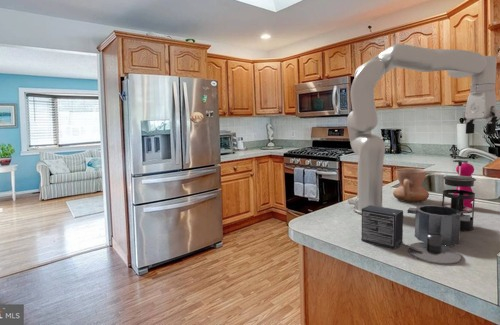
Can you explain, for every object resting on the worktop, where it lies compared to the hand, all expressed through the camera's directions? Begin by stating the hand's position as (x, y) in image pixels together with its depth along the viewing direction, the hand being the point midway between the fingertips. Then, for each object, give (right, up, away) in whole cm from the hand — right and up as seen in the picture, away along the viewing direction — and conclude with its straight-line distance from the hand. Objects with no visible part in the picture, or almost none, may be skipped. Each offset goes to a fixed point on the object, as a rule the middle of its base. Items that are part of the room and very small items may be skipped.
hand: (479, 133), depth 119 cm
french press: (-20, -34, -16) cm, 42 cm away
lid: (-40, -37, -36) cm, 65 cm away
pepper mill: (-3, -30, +6) cm, 31 cm away
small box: (-50, -36, -26) cm, 67 cm away
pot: (-33, -35, -25) cm, 54 cm away
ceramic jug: (-18, -29, +19) cm, 39 cm away
